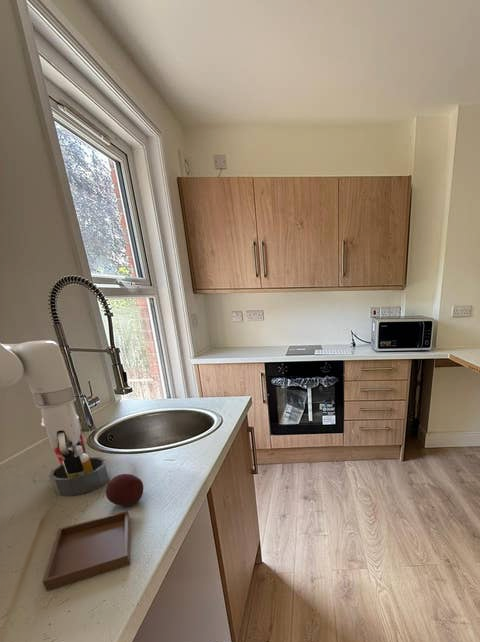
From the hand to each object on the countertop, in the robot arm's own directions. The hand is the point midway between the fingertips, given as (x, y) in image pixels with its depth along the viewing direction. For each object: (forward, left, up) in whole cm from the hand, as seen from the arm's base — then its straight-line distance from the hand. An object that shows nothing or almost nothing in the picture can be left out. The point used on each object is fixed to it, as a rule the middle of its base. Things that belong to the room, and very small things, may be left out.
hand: (77, 465), depth 86 cm
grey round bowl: (0, 0, -5) cm, 5 cm away
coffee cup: (-3, +12, -5) cm, 13 cm away
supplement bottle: (0, 0, -5) cm, 5 cm away
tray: (+4, -30, -5) cm, 31 cm away
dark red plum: (+10, -15, -5) cm, 19 cm away
